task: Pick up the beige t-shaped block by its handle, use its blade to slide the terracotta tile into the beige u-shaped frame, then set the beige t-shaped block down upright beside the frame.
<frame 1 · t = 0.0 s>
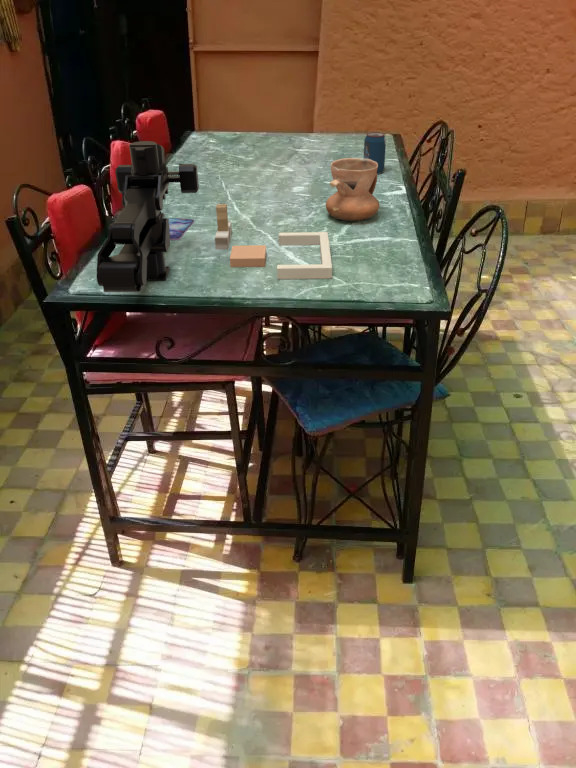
hand: (163, 169, 155), 17 cm above the table, tool horizontal, fingers open, 9 cm apart
tile: (248, 261, 150), on the table
ceramic jug: (353, 216, 174), on the table
beige t-shaped block: (224, 240, 160), on the table
smartphone: (174, 231, 168), on the table
beige u-shaped frame: (299, 259, 149), on the table
soda can: (373, 172, 210), on the table
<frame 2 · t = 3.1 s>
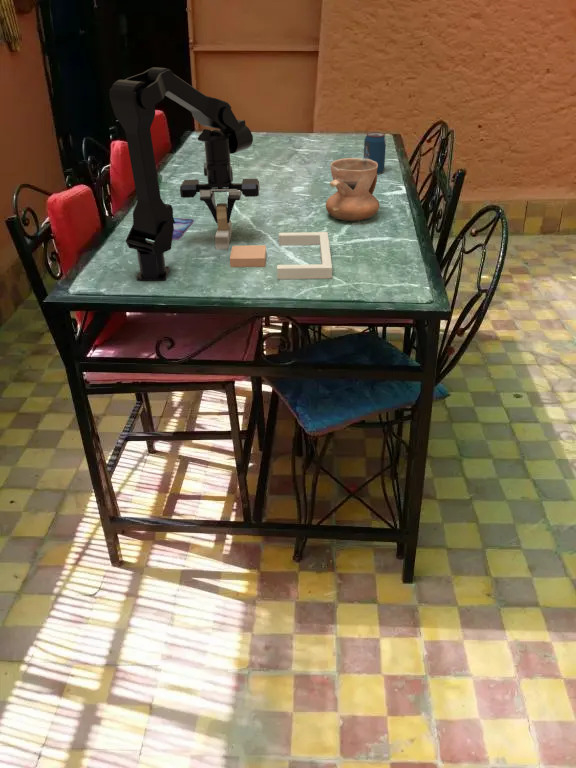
hand: (222, 222, 158), 5 cm above the table, tool pointing down, fingers closed on beige t-shaped block, 2 cm apart
beige t-shaped block: (224, 240, 160), on the table, touching gripper
everything else where it was.
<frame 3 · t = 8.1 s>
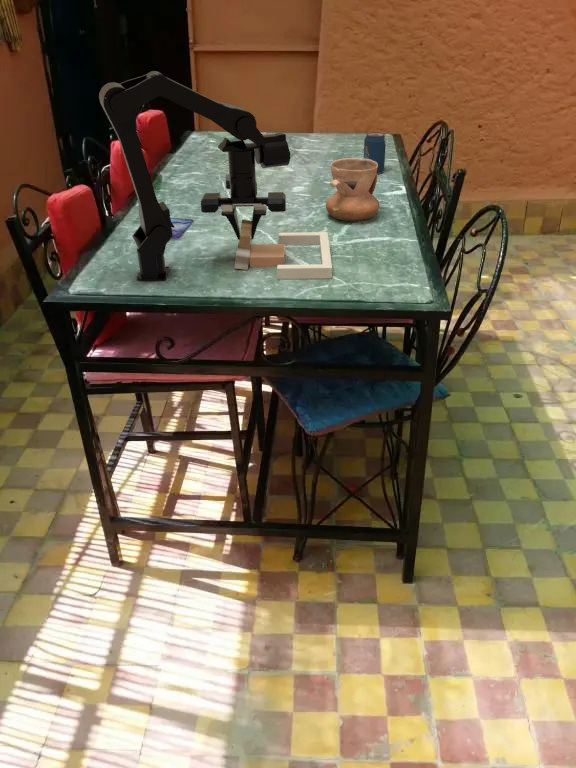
hand: (245, 239, 147), 5 cm above the table, tool pointing down, fingers closed on beige t-shaped block, 3 cm apart
tile: (267, 260, 150), on the table, touching beige t-shaped block
beige t-shaped block: (242, 258, 149), on the table, tilted 9°, touching gripper, tile
everything else where it was.
when the fingers open (5 cm above the table, at t = 13.7 s): beige t-shaped block stays where it is, on the table.
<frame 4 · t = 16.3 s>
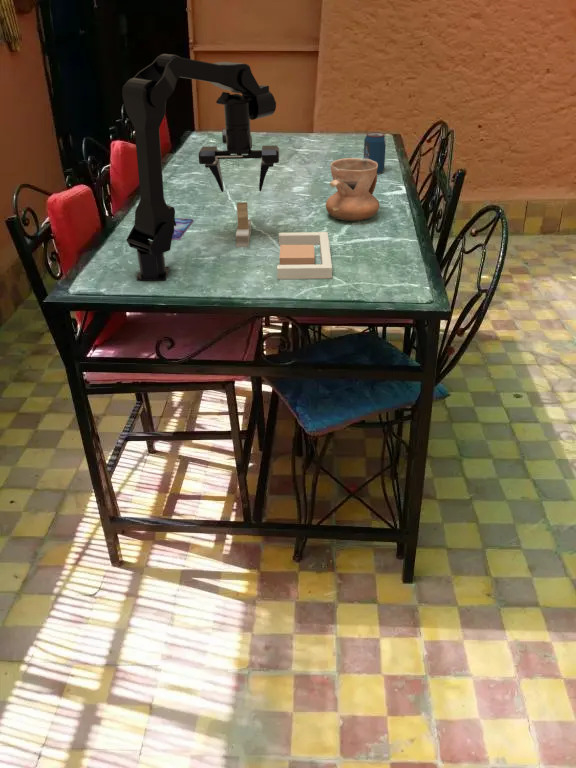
hand: (241, 191, 154), 12 cm above the table, tool pointing down, fingers open, 9 cm apart
tile: (297, 261, 150), on the table
beige t-shaped block: (243, 239, 161), on the table
everything else where it was.
at the end: tile inside the target area (0.9 cm from its centre), on the table; the gripper is holding nothing; beige t-shaped block tilted 0° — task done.
